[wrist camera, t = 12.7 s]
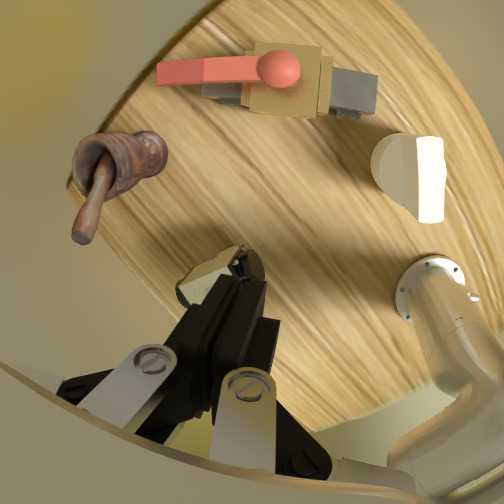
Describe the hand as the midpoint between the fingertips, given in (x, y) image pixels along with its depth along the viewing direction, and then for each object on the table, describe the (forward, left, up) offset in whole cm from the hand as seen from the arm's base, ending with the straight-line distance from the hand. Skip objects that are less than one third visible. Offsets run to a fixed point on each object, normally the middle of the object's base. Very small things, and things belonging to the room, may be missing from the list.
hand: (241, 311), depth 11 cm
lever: (+7, -12, -20) cm, 24 cm away
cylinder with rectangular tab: (-14, -4, -32) cm, 36 cm away
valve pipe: (+2, -12, -32) cm, 34 cm away
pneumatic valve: (+8, +14, -32) cm, 36 cm away
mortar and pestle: (+22, 0, -32) cm, 39 cm away
